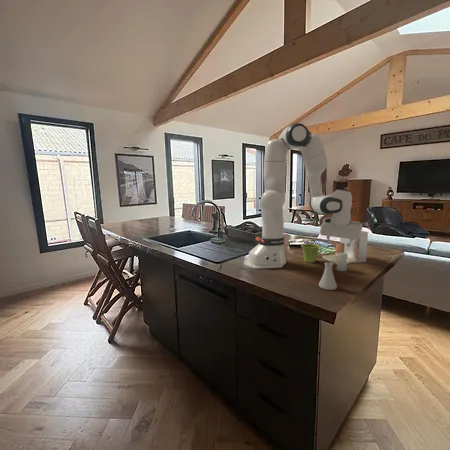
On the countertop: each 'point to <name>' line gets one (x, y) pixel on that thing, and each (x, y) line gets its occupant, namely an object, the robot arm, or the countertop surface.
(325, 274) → the flask
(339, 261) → the sage part
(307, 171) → the robot arm
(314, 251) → the plant pot
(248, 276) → the countertop surface
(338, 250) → the terracotta part
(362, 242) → the service unit
